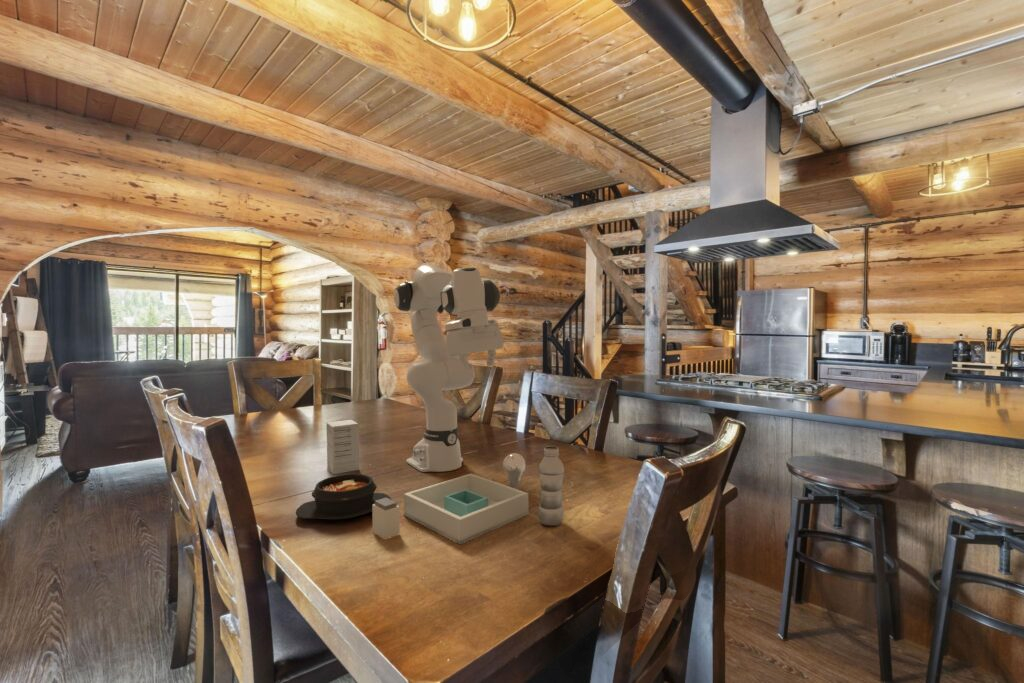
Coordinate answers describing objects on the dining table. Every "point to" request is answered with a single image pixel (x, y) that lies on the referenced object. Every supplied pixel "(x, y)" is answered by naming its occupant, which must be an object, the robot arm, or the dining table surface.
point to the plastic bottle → (551, 488)
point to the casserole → (341, 498)
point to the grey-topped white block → (385, 518)
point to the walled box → (465, 507)
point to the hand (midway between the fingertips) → (480, 367)
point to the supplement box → (342, 446)
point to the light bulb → (514, 469)
